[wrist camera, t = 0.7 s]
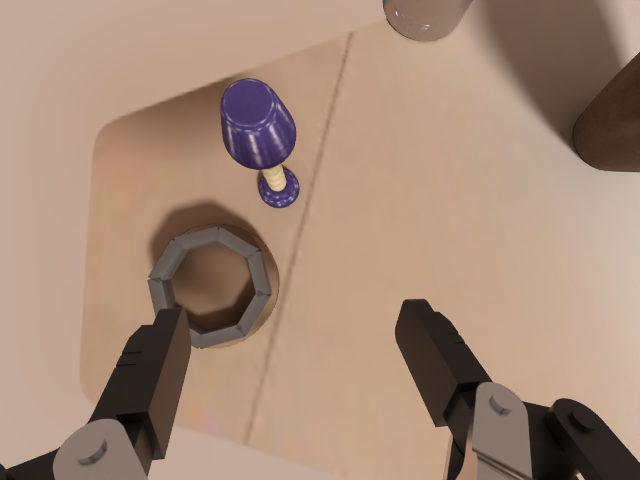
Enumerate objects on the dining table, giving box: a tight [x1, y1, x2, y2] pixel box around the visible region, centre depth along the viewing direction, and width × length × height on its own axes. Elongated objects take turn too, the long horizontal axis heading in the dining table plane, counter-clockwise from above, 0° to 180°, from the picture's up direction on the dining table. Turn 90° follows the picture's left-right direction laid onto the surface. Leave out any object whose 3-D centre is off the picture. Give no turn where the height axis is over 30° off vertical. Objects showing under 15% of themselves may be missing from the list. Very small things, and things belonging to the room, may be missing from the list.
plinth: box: [148, 224, 279, 349], centre depth 30 cm, size 12×12×4 cm
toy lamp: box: [220, 78, 299, 208], centre depth 24 cm, size 5×5×17 cm
